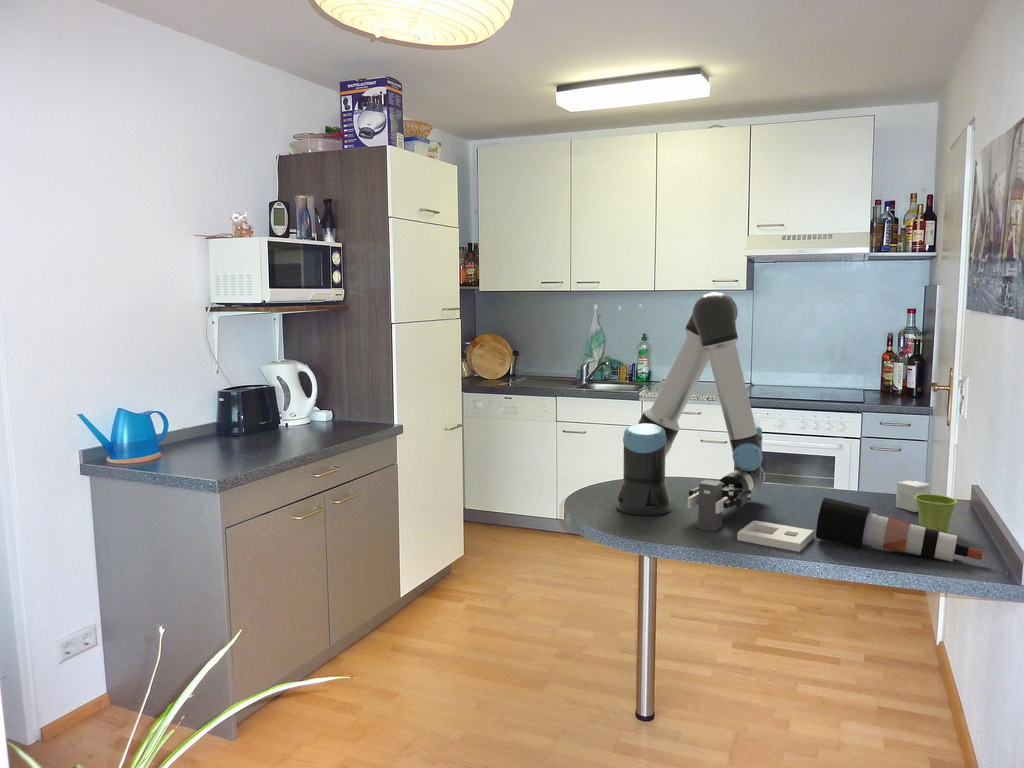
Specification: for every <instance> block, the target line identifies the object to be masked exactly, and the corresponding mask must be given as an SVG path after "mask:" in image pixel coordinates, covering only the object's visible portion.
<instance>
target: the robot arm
mask: <svg viewBox="0 0 1024 768" xmlns="http://www.w3.org/2000/svg"><path fill="white" fill-rule="evenodd" d="M737 317H738V307H737V304H736V302H735V300H734V299H733V298H732V297H731V296H729V295H728V294H726V293H723V292H721V291H713V292H709V293H707V294H704V295H702V296H701V297H700V298H699V299H697V301H696V302H695V304H694V306H693V307H692V313H691V315H690V318H689V319H688V322H687V324H686V325H685V328H684V330H685V333H686V338H684V339H685V340H684V341H683V344H681V345H682V346H681V348H680V350H679V351H678V354H677V355H676V358H675V360H674V362H673V364H672V366H671V368H670V370H669V371H668V374H667V376H666V378H665V379H664V381H663V384H662V386H661V387H660V390H659V391H658V394H657V396H656V398H655V400H654V402H653V404H652V405H651V408H649V409H646V410H643V413H642V414H641V417H640V419H639V421H638V422H637V423H635V424H634V425H633V424H632V425H630V426H629V425H628V426H627V427H626V428H625V430H624V432H623V437H622V442H623V480H622V481H623V482H622V484H621V488H620V489H619V493H618V497H617V500H616V508H617V510H619V512H623V513H625V514H629V515H636V516H645V517H647V516H660V515H664V514H667V513H669V512H671V511H672V501H671V498H670V494H669V492H668V491H669V490H668V487H667V485H666V456H667V455H668V453H669V452H670V450H671V448H672V446H673V443H674V441H675V439H676V437H677V435H678V433H679V430H680V428H681V427H680V425H679V422H678V421H679V419H680V418H681V416H682V414H683V411H684V410H685V408H686V406H687V403H688V401H689V400H690V397H691V395H692V394H693V392H694V390H695V388H696V386H697V384H698V382H699V380H700V378H701V376H702V374H703V372H704V371H705V368H706V367H707V364H708V363H710V367H711V371H712V374H713V378H714V382H715V387H716V390H717V395H718V399H719V403H720V407H721V410H722V414H723V418H724V422H725V426H726V431H727V435H728V438H729V439H728V440H729V444H730V447H731V452H732V460H733V471H732V472H730V473H728V474H726V475H725V476H723V477H722V478H720V479H719V482H722V499H721V500H719V501H718V502H716V511H715V513H720V512H721V511H722V512H723V511H725V510H727V509H729V508H733V507H734V506H735V507H736V508H737V509H740V508H742V507H743V506H744V505H745V504H746V503H747V502H748V501H752V493H753V492H755V491H757V490H759V488H761V486H763V484H764V483H765V479H766V473H765V471H764V468H763V467H762V462H763V458H764V456H763V455H764V454H763V429H762V427H761V426H759V425H756V421H755V418H754V414H753V410H752V407H751V402H750V401H751V400H750V398H749V393H748V389H747V387H746V386H747V385H746V382H745V378H744V373H743V368H742V366H741V365H742V364H741V361H740V357H739V354H738V348H737V345H736V344H737V342H738V340H739V336H738V332H737V326H736V321H737ZM697 505H699V486H697V487H694V488H692V489H689V490H688V497H687V506H686V507H687V509H693V508H694V507H696V506H697Z"/></svg>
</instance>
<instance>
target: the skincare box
mask: <svg viewBox="0 0 1024 768" xmlns="http://www.w3.org/2000/svg"><path fill="white" fill-rule="evenodd" d="M930 492H931V484H929V483H927V482H922V481H918V480H913V479H910V480H903V481H898V482H897V483H896V498H895V507H896V508H898V509H902V510H905V511H909V512H912V513H916V512H918V505H917V501H916V499H915V496H916V495H918V494H931V493H930ZM918 513H919V512H918Z"/></svg>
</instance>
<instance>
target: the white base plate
mask: <svg viewBox="0 0 1024 768" xmlns="http://www.w3.org/2000/svg"><path fill="white" fill-rule="evenodd" d="M814 531H815V530H812V529H808V528H801V527H797V526H796V527H795V526H790V525H783V524H778V523H772V522H767V521H761V520H755V519H754V520H752V521H751V522H750V523H748V524H747V525H745V526H744V527H743V528H741V529H740V530H739V531H738V532H737V535H736V536H737V537H736V538H737V541H740V542H745V543H751V544H756V545H762V546H766V547H772V548H775V549H783V550H787V551H792V552H798V553H800V552H801V551H802V550H803V549H804V548H805V547H806V546H807V545H809V543H810V542H811V541H813V539H814V537H815V532H814Z"/></svg>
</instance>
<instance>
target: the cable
mask: <svg viewBox="0 0 1024 768" xmlns="http://www.w3.org/2000/svg"><path fill="white" fill-rule="evenodd" d="M870 510H871V508H870V507H869V506H865V505H859V504H855V503H853V502H846V501H843V500H838V499H835V498H828V497H823V500H822V502H821V503H820V508H819V512H818V515H817V516H818V517H817V522H816V529H815V536H816V537H815V538H816V539H819V540H823V541H827V542H831V543H836V544H840V545H844V546H847V547H853V548H856V549H859V548H860V549H861V550H863V547H864V545H867V546H870V547H872V546H874V547H878V548H881V549H883V550H891V551H894V552H898V553H903V554H905V553H909V554H913V555H917V556H920V557H921V556H923V557H927V558H932V559H937V560H942V561H946V562H951V563H953V561H954V557H955V555H956V556H961V557H964V558H967V557H968V558H972V559H976V560H980V561H982V559H983V553H984V552H983V549H977V548H972V547H969V546H968V545H967V546H966V545H962V544H957V539H958V535H955V534H951V533H948V532H947V533H943V532H939V531H936V530H932V529H927V528H926V527H921V526H920V525H915V524H912V523H910V522H907V521H903V520H898V519H894V518H890V517H886V516H881V515H878V514H876V513H871V512H870Z"/></svg>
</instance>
